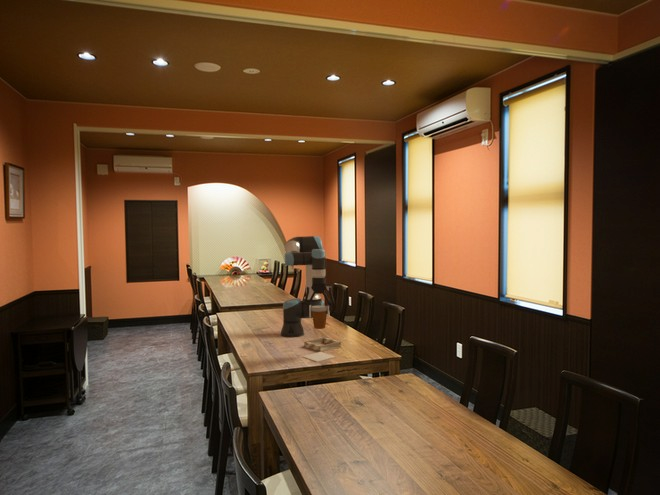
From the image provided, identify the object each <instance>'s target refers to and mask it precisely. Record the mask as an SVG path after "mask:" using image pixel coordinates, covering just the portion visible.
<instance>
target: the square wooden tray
mask: <svg viewBox="0 0 660 495" xmlns="http://www.w3.org/2000/svg"><path fill="white" fill-rule="evenodd" d="M303 342H304V346H303V347H304V348H307V349H311V350H313V351H316V352H326V351H330V350H333V349H338V348H341V346H342V344H341V343H342V342H341V341H339V340H335V339H332V338H329V337H328V338H327V337H325V336H324V337H319V338H316V339H315V338H314V339H310V340H305V341H303ZM321 344H322V345H321ZM323 344H324V345H323Z"/></svg>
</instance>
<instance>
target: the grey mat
mask: <svg viewBox="0 0 660 495" xmlns="http://www.w3.org/2000/svg"><path fill="white" fill-rule="evenodd" d="M334 357H335V358H336V356H335V355H333V354H330V353H329V354H328V353H326V352H324V351H322V352H320V351H317V352H314V353H311V354H307V355H302V358H304V359H307V360H311V361H313V362H315V363H318V362H319V363H320V362H324V361H327V360H331V359H335V358H334ZM330 358H331V359H330Z"/></svg>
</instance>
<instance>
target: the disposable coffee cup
mask: <svg viewBox="0 0 660 495" xmlns="http://www.w3.org/2000/svg"><path fill="white" fill-rule="evenodd" d="M311 311H312V316H313V318H312V323H313V328H314V329H316V330H323V329H325V328H326V327H327V326H326V325H327V318H328V305H325V304H324V305H316V306H312V308H311Z"/></svg>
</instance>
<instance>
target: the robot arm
mask: <svg viewBox="0 0 660 495" xmlns="http://www.w3.org/2000/svg"><path fill="white" fill-rule="evenodd" d="M323 247H324V246H323V242H322V238H321V237H320V236H316V235H312V236H311V235H310V236H309V235H308V236H294V237H292V238H290V239H288V240H287V241H286V242H285V245H284V250H285V253H284V264H285V266H287V267H288V266H289V267H293V266H305V295H304V297H303V300H301V298H290V299H287V300H284V301H283V302H282V313H283V314H282V316H283V320H282V321H283V323H282V328H281V331H280V336H281V337H285V338H299V337H301V336H304V335H305V330H304V327H303V324H302V319H313V316H312V311H311V308H312V306H316V305H325V301H324V300H323V299H322V296H321V295H323V297H324V299H325V300H326V303H327V308H328V310H327V318H330V312H331V311H332V306H333V305H335V299H334V296H333V292H332V286H327V285H326V282H327V281H326V280H327V278H326V273H327V271H326V251H325V249H324V248H323ZM326 289H327V291H328V293H329V297H328V295H327V293H326Z"/></svg>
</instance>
